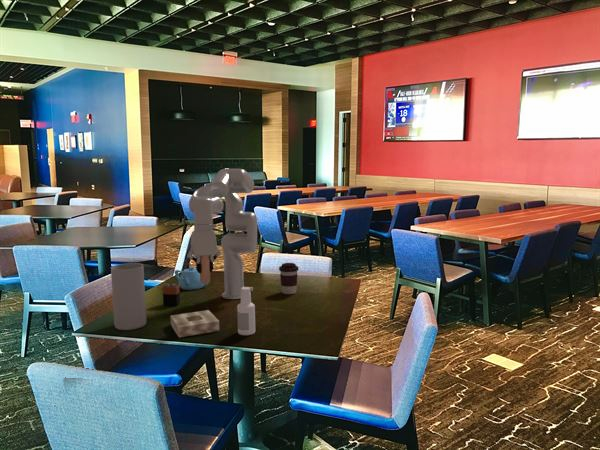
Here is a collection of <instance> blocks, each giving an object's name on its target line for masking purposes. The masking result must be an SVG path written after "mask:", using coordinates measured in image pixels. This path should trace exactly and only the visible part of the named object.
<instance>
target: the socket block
mask: <svg viewBox="0 0 600 450" xmlns="http://www.w3.org/2000/svg"><path fill="white" fill-rule="evenodd" d="M170 326H171V327H172V329H173V330H174V333H175V334H176V335H177V336H178V338H184V337H189V336H195V335H196V336H197V335H202V334H206V333H207V334H208V333H214V332H219V331H220V320H219V319H218V318H217V317H216V316H215V315H214V314H213V313H212V312H211V311H210V310H209V309H207V310H200V311H199V310H198V311H193V312H185V313H180V314H174V315H173V314H172V315H170Z"/></svg>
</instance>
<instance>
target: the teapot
mask: <svg viewBox="0 0 600 450" xmlns="http://www.w3.org/2000/svg"><path fill="white" fill-rule="evenodd" d="M179 273H180V276H179ZM174 274H175V275H174V276H175V277H176V280H177V281H178V283H177V285H179V289H181V290H184V291H185V290H187V291H193V290H194V289H195V290H199V289H201V288H202V289H203V288H204V286H205V285H206V286H207V285H209V283H201V282H200V273H198V271H197V270H196V267H194V265H193V266H189V267H188V268H186V269H183V270H179V269H175V270H174ZM195 290H194V291H195Z"/></svg>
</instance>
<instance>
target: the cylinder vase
mask: <svg viewBox="0 0 600 450" xmlns="http://www.w3.org/2000/svg"><path fill="white" fill-rule="evenodd" d="M144 270H145V269H144V264H143V263H139V262H138V263H137V262H135V263H134V262H130V263H121V264H120V263H119V264H115V265H113V266H111V267H110V275H111V279H110V280H111V292H112V293H111V294H112V308H113V309H112V310H113V322H114V327H115V328H116V330H120V331H132V330H133V331H134V330H137V329H140V328H142V327H145V325H147V307H146V304H147V303H146V289H145V288H146V287H145V271H144Z"/></svg>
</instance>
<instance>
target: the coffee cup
mask: <svg viewBox="0 0 600 450" xmlns="http://www.w3.org/2000/svg"><path fill="white" fill-rule="evenodd" d="M278 270H279V272H280V273H279V277H280V285H281V293H282V294H283V295H293V294H296V293H297V285H298V271H299V266H298V265H296V263H294V262H284V263H282V264H281V265H280V266H279V267H278Z"/></svg>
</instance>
